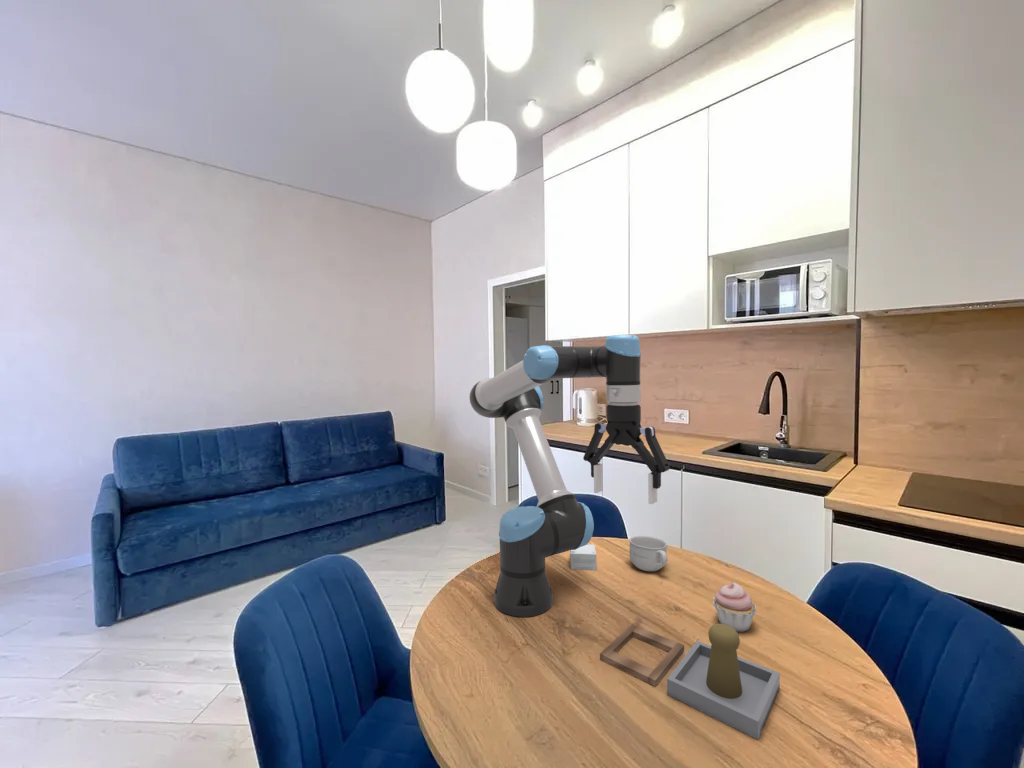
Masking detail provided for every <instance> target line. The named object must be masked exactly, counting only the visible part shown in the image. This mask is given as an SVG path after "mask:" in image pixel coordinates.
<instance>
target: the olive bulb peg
mask: <svg viewBox="0 0 1024 768" xmlns="http://www.w3.org/2000/svg"><path fill="white" fill-rule="evenodd" d="M707 636H708V639H709V640H708V641H709V642H710V644H711V645H710V646H711V651H710V658H709V665H708V672H707V679H706V684H707V686H708V688H709V689H710V690H711V691H712V692H713V693H715V694H716V695H718V696H721V697H724V698H728V699H735V698H738V697H740V696H741V695H742V686H741V679H740V672H739V665H738V658H737V656H738V652H737V650H738V648H739V647H740V643H741V639H740V635H739V632H738V631H736V630H735V629H734V628H732V627H730V626H728V625H725V624H721V623H715V624H712V625H711V626H710V627H709V629H708V635H707Z"/></svg>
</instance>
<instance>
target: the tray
mask: <svg viewBox="0 0 1024 768" xmlns="http://www.w3.org/2000/svg"><path fill="white" fill-rule="evenodd" d="M710 651H711V645H710V644H707V643H705V642H702V641H700V640H696V641H695V643H694V644H693V645H691V648H689V650H688V651H687V653H686V654H685V655H684V656H683V658H682V659H681V661H680V662H679V663H678V664H677V666H675V668H674V669H673V670H672V672H671V673H670V674H669V675H668V677H667V678H666V685H667V686H666V690H667V691H666V693H667V696H669V697H670V698H673V699H675V700H677V701H679V702H681V703H683V704H685V705H688V706H689V707H692V708H694V709H695V710H697V711H699V712H701V713H703V714H705V715H707V716H709V717H711V718H713V719H715V720H718V721H720V722H721V723H723V724H725V725H727V726H730V727H732V728H734V729H736V730H738V731H740V732H741V733H743V734H746V735H747V736H750V737H752V738H754V739H755V740H759V739H760V736H761V735H762V732H763V729H764V727H765V725H766V723H767V720H768V718H769V716H770V713H771V710H772V708H773V706H774V703H775V700H776V698H777V696H778V693H779V692H780V683H781V682H780V680H781V679H780V676H781V675H780V672H778V671H775V670H773V669H770V668H768V667H765V666H762V665H760V664H758V663H755V662H754V661H753V662H752V661H750V660H747V659H744V658H743V657H740V656H738V655H737V658H738V665H739V672H740V679H741V686H742V695H741V696H740V697H738V698H735V699H728V698H724V697H721V696H718V695H716V694H715V693H713V692H712V691H711V690H710V689H709V688H708V686H707V684H706V679H707V672H708V665H709V658H710Z"/></svg>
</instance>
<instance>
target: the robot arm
mask: <svg viewBox="0 0 1024 768" xmlns="http://www.w3.org/2000/svg"><path fill="white" fill-rule="evenodd" d="M641 355H642V353H641V344H640V338H639V336H637V335H635V334H614V335H609V336H608V335H607V337H606V338H605V344H604V345H596V346H592V345H591V346H587V345H586V346H585V345H583V346H581V345H580V346H578V345H577V346H573V345H572V346H569V345H566V346H564V345H543V344H542V345H537V346H536V345H535V346H531V347H529V348H528V349H527V350H526V352H525V354H524V355H523V359H522V360H521V361H518V362H517V363H516V364H514V365H512V366H511V367H509V368H507V369H506V370H504V371H502V372H500V373H498V374H496V375H495V376H493V377H486V378H483V379H481V380H479V381H478V382H477V383H475V384H474V385H473V386H472V388H471V390H470V392H469V404H470V405H471V408H472V409H473V411H475V412H476V414H478V415H480V416H482V417H485V418H489V419H493V418H494V419H495V418H496V419H499V418H503V419H504V422H505V425H506V426H507V427H508V428H509V429H510V428H511V429H512V430H513V433H514V435H515V439H516V440H517V444H518V447H519V450H520V452H521V455H522V457H523V461H524V464H525V466H526V469H527V471H528V475H529V477H530V481H531V483H532V486H533V489H534V492H535V494H536V497H537V501H538V502H537V504H536V506H534V505H527V506H525V505H523V506H522V505H521V506H519V507H517V506H516V507H515V508H511V509H510V510H508V511H506V512H505V513H504V514H503V515H502V517H500V521H499V531H498V536H499V563H500V567H499V568H500V569H499V570H500V573H499V575H498V578H497V579H498V580H497V583H496V587H495V589H494V593H493V601H494V606H495V608H496V609H497V610H498V611H500V612H502V613H503V614H506V615H508V616H512V617H513V616H514V617H519V618H522V617H523V618H527V617H528V618H529V617H533V616H538V615H541V614H543V613H545V612H547V611H548V610H549V609H550V608H551V607H552V606H553V602H554V599H553V590H552V588H551V586H550V583H549V578H548V576H547V573H546V558H548V557H551V556H555V555H559V554H563V553H565V552H570V550H576V549H577V548H579V547H582V546H585V545H586V544H590V543H589V542H590V541H591V540H592V538H593V535H594V533H593V532H594V529H595V527H594V526H595V524H594V517H593V514H592V511H591V510H590V508H589V506H587V505H586V504H585V503H584V502H580V501H578V500H577V498H576V496H575V493H574V492H571V491H569V490H567V487H566V484H565V482H564V479H563V477H562V475H561V472H560V470H559V467H558V464H557V462H556V461H557V460H555V457H554V454H553V451H552V449H551V447H550V444H549V441H548V439H547V436H546V433H545V431H544V429H543V426H542V423H541V421H540V417H541V416H542V410H543V407H544V401H543V399H544V396H543V395H544V394H543V392H542V390H541V387H540V386H541V385H543V384H546V383H549V382H551V381H553V380H557V379H558V380H560V379H576V378H577V379H580V378H581V379H582V378H583V379H585V378H586V379H587V378H589V379H590V378H605V380H606V382H605V384H606V385H605V386H606V387H605V388H606V391H605V392H606V403H609V404H607V405H606V421H607V424H605V423H604V422H597V423H595V425H594V429H593V430H594V431H593V434H592V436H591V439H590V441H589V443H588V446H587V449H586V451H585V453H584V455H583V460H584V461H585V462H588V463H589V464H590V476H591V478H593V493H595V494H598V493H601V492H603V491H604V487H603V486H604V481H603V479H604V477H603V474H604V473H603V467H604V466H603V463H601V461H602V459H603V458H604V457H605V455H606V454H607V453H608V452H609V451H610V450H611V448H612V447H613V446H614V445H618V446H620V445H622V446H626V447H629V446H631V447H632V448H633V449H634V450H635V451H636V452H637V454H638V456H639V457H640V458H641V460H642V461H643V462H644V464H645V465H646V466H647V468H648V469H649V470H650V472H649V473H648V474H647V475H648V476H647V477H648V478H647V479H648V481H647V482H648V484H647V485H648V487H647V489H648V493H647V494H648V505H654V504H655V503H657V502H658V489H661V486H662V473H665V472H668V471H669V470H670V469H671V467H670V465H669V462H668V460H667V457H666V456H665V454H664V452H663V450H662V447H661V445H660V442H659V440H658V438H657V436H656V435H657V434H656V428H655V427H654V425H653V426H647V427H642V425H641V421H642V409H641V408H642V407H641V405H640V404H639V403H641V401H642V400H641V398H642V397H641V396H642V395H641V394H642V392H641ZM605 432H606V433H607V435H608V437H607V438H606V439H605V440H604V442H603V444H602V445H601V446H600V442H601V441H602V438H603V437H604V433H605ZM641 435H643V437H644V438H645V441H646V443H647V446H648V447H649V449H650V451H651V452H650V451H649V449H648V448H647V447H646V445H645V443H644V442H645V441H643V439H642V438H641V437H640V436H641ZM599 446H600V447H599ZM598 447H599V449H598Z"/></svg>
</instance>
